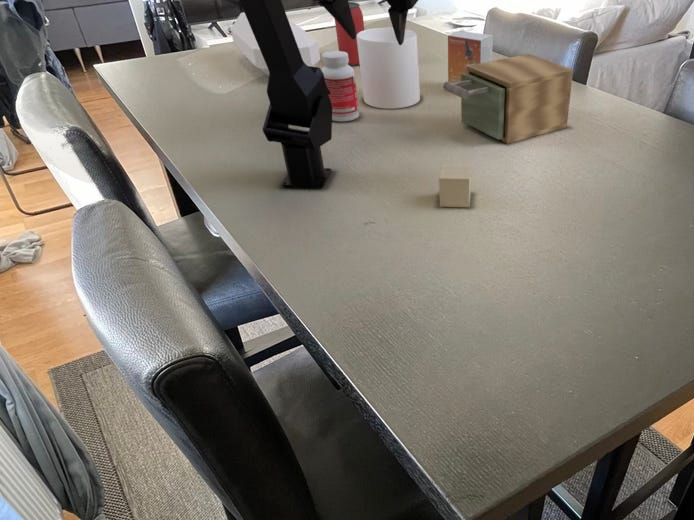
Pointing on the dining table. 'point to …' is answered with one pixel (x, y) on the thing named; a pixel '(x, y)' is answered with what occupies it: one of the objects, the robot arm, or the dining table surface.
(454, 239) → the dining table surface
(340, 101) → the pill bottle
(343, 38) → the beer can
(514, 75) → the cabinet
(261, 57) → the crystal
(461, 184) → the block
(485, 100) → the drawer
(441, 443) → the dining table surface
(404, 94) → the cup
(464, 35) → the small box
